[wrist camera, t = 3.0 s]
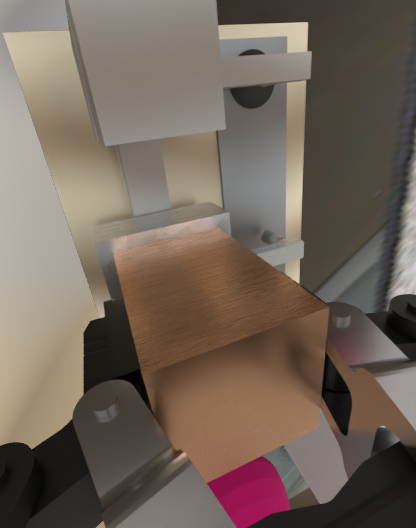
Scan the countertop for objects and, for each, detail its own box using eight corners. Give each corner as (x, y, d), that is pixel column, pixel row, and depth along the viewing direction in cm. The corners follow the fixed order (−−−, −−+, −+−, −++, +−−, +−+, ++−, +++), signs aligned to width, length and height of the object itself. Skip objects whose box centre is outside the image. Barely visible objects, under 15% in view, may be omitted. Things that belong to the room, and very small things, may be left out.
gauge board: (11, 44, 11) (-90, -78, 5) (287, 31, 14) (454, -49, 8) (133, 405, 20) (156, 535, 14) (284, 346, 23) (361, 428, 17)
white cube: (281, 442, 29) (323, 509, 24) (323, 398, 29) (375, 457, 23) (310, 455, 32) (353, 517, 27) (348, 415, 32) (399, 470, 27)
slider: (92, 224, 12) (104, 363, 5) (275, 185, 14) (465, 241, 7) (122, 323, 14) (161, 518, 7) (275, 276, 16) (421, 386, 9)
